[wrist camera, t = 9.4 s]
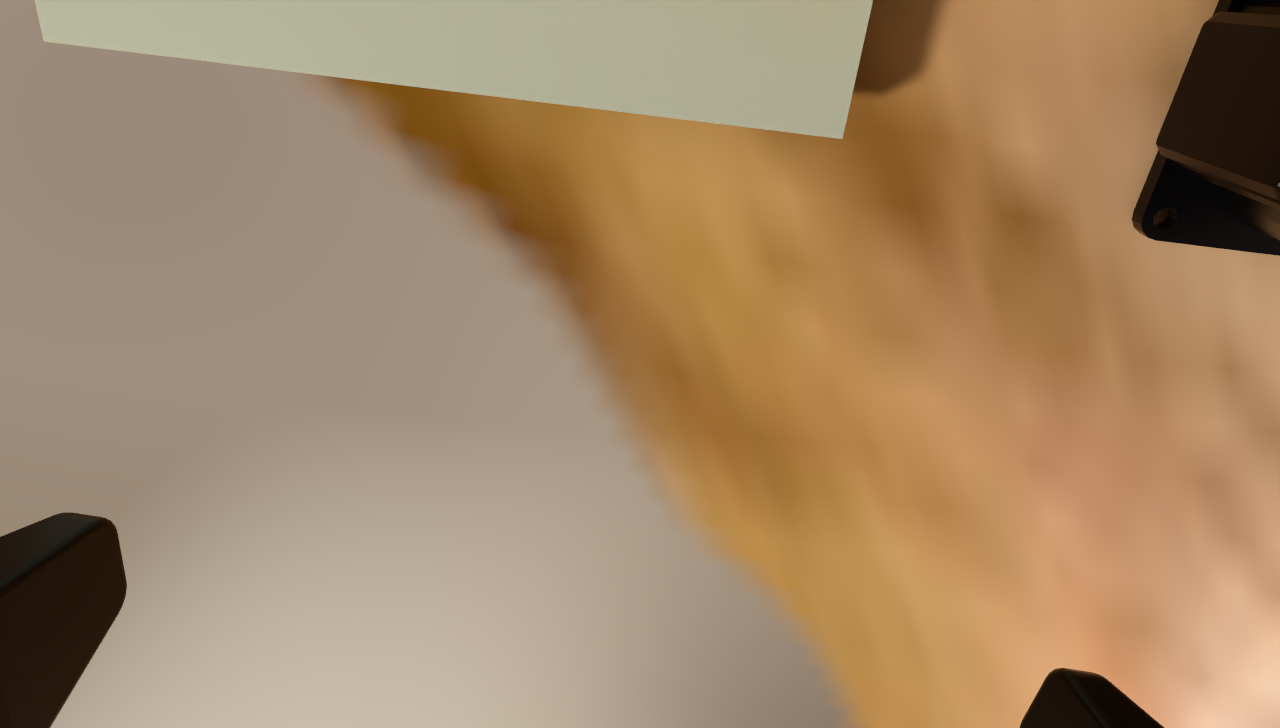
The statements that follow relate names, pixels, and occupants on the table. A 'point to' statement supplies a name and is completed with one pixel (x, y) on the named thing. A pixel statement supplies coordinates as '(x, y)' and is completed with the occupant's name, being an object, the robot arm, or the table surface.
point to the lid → (523, 49)
